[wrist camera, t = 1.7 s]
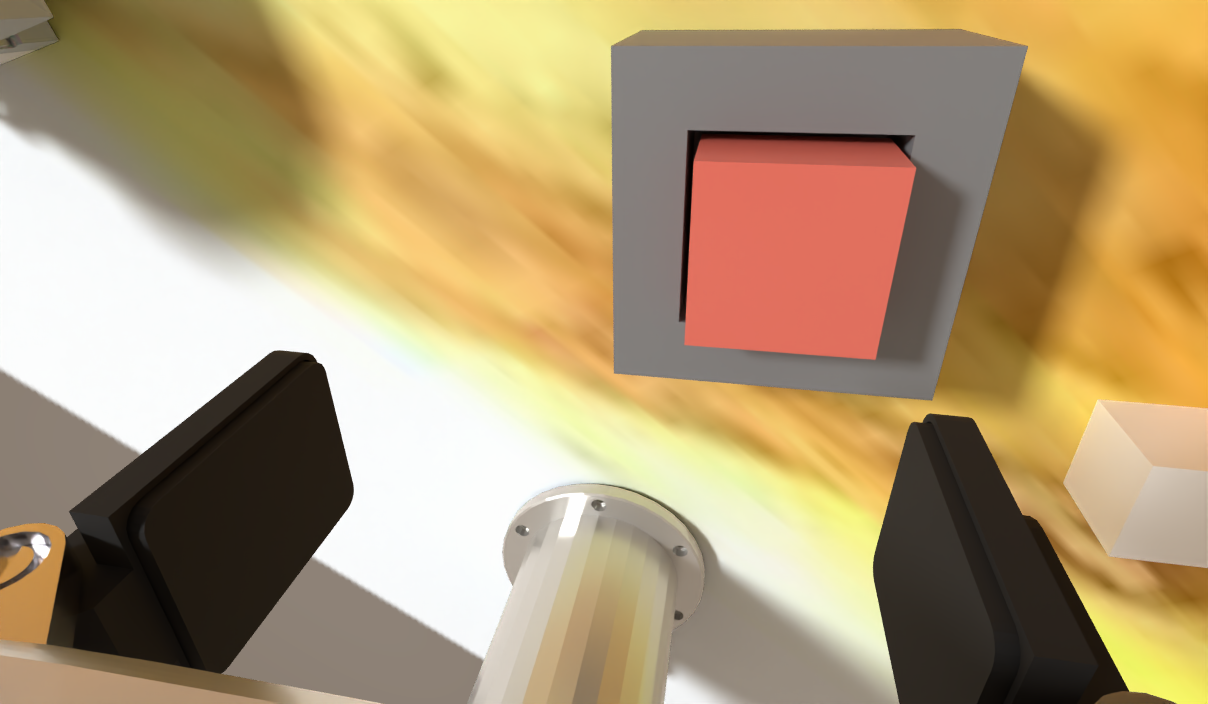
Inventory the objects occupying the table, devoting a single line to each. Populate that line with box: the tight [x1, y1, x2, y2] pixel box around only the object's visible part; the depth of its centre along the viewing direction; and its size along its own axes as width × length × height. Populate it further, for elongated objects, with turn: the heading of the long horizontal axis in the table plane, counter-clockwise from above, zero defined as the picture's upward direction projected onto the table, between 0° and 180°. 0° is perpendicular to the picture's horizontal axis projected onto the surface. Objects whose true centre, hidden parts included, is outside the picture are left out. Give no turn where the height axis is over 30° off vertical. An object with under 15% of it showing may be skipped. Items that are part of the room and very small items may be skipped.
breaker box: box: [611, 29, 1028, 400], centre depth 26 cm, size 12×12×7 cm
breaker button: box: [684, 134, 916, 360], centre depth 22 cm, size 6×6×4 cm
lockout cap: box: [1063, 399, 1208, 568], centre depth 30 cm, size 5×5×5 cm
